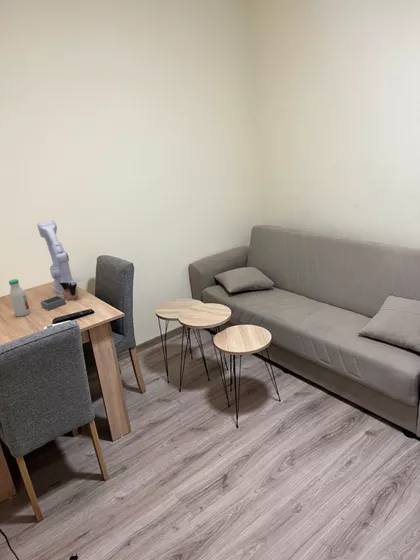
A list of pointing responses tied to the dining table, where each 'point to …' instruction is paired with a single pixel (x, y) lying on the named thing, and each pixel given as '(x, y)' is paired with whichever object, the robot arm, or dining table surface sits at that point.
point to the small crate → (69, 294)
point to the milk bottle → (18, 299)
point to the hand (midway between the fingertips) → (70, 294)
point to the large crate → (53, 302)
